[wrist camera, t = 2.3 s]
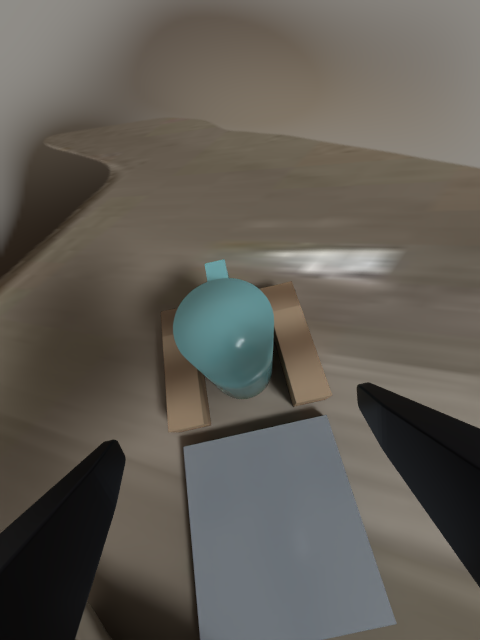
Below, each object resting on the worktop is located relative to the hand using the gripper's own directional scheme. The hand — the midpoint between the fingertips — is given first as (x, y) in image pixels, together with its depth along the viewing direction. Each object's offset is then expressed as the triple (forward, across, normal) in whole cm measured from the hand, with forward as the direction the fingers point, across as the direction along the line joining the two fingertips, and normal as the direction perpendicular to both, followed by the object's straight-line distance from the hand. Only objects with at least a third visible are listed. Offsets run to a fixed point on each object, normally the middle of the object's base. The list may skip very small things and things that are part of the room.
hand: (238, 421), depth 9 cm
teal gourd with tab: (+13, 0, +4) cm, 13 cm away
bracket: (+12, 0, +5) cm, 13 cm away
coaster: (+4, 0, +12) cm, 13 cm away
